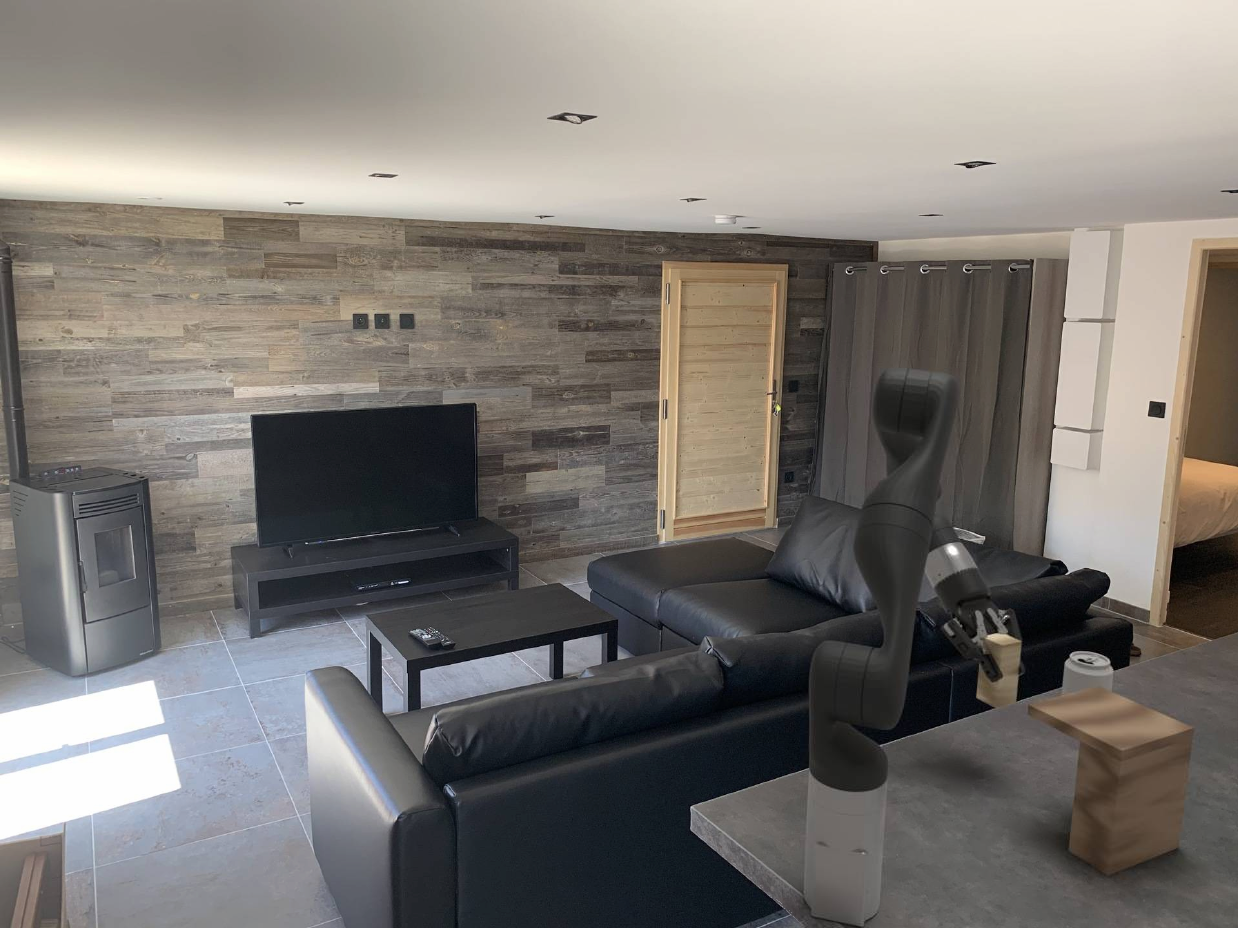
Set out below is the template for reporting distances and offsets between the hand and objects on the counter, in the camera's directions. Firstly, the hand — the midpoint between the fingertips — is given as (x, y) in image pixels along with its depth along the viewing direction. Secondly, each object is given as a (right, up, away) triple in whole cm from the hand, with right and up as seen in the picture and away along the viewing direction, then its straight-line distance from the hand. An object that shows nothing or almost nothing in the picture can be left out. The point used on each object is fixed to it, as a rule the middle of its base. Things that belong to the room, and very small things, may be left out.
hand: (1008, 676), depth 146 cm
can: (+21, -13, +21) cm, 32 cm away
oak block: (-1, -4, +3) cm, 5 cm away
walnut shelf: (+7, -19, -12) cm, 24 cm away
